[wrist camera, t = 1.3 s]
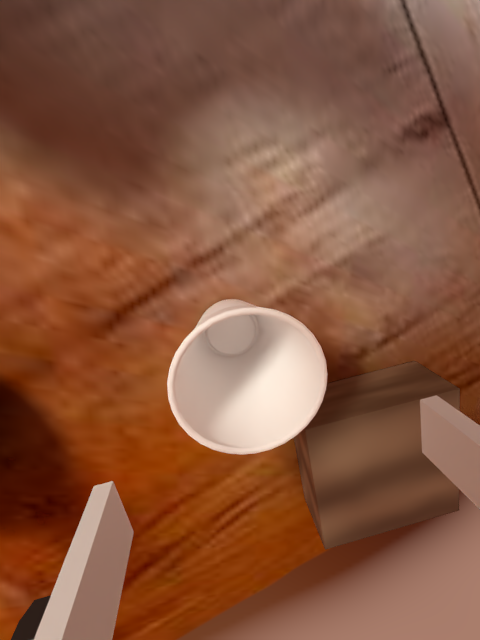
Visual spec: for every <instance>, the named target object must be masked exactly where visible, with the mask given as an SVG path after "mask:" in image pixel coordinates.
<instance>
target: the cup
mask: <svg viewBox="0 0 480 640" xmlns="http://www.w3.org/2000/svg"><path fill="white" fill-rule="evenodd" d="M327 375H328V374H327V365H326V359H325V356H324V353H323V351H322V348H321V346H320V344H319V343H318V341H317V339H316V338H315V336H314V335H313V333H312V332H311V331H310V330H309V329H308V328H307V327H306V326H305V325H304V324H303V323H301V322H300V321H298V320H297V319H295V318H293V317H292V316H290V315H288V314H285V313H283V312H280V311H278V310H274V309H269V308H263V307H257V306H255V305H252V304H250V303H247V302H244V301H242V300H237V299H227V300H223V301H220V302H217V303H215V304H214V305H212V306H211V307H209V308H208V309H207V310H206V311H205V312H204V314H203V316H202V317H201V319H200V320H199V322H198V324H197V325H196V327H195V329H194V330H193V331H192V332H191V333H190V334H189V335H188V336H187V337H186V338H185V339H184V341H183V342H182V344H181V345H180V347H179V348H178V350H177V351H176V353H175V355H174V358H173V360H172V363H171V365H170V368H169V375H168V381H167V387H168V399H169V402H170V406H171V409H172V412H173V414H174V416H175V417H176V419H177V421H178V423H179V424H180V426H181V427H182V428H183V429H184V430H185V431H186V432H187V433H188V435H189V436H191V437H192V438H193V439H195V440H196V441H198V442H199V443H200V444H202V445H204V446H207V447H209V448H211V449H213V450H216V451H220V452H224V453H229V454H241V455H242V454H254V453H259V452H263V451H267V450H271V449H273V448H275V447H278V446H280V445H282V444H284V443H286V442H287V441H289V440H290V439H292V438H294V437H295V436H297V435H298V434H299V433H300V432H301V431H302V430H303V429H304V428H305V427H306V426H307V425H308V424H309V423H310V421H311V420H312V419H313V417H314V416H315V415H316V413H317V411H318V409H319V407H320V405H321V403H322V401H323V398H324V395H325V391H326V386H327Z"/></svg>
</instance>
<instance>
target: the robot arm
mask: <svg viewBox="0 0 480 640" xmlns="http://www.w3.org/2000/svg"><path fill="white" fill-rule="evenodd" d="M420 414H421V438H422V453H423V454H424V455H425V456H426V457H427V458H428V459H429V460H430V461H431V462H432V463H433V464H434V465H435V466H436V467H437V468H438V469H439V470H440V471H441V472H442V473H443V474H444V475H446V476H447V477H448V478H449V479H450V480H451V481H452V482H453V483H454V484H455V485H456V486H457V487H458V488H459V489H460V490H461V491H462V492H463V493H464V494H465V495H466V496H467V497H468V498H469V499H470V500H471V501H472V502H473V503H474V504H475V505H476V506H477V507H478V508H479V509H480V425H478V424H477V423H475V422H474V421H473V420H471V419H470V418H468V417H467V416H465V415H464V414H463V413H461V412H460V411H458V410H457V409H455V408H454V407H453V406H451V405H450V404H448V403H447V402H445V401H444V400H443V399H441V398H440V397H438V396H437V395H436V396H432V397H428V398H424V399H421V400H420ZM133 533H134V532H133V529H132V527H131V524H130V522H129V519H128V517H127V514H126V512H125V509H124V507H123V505H122V502H121V500H120V497H119V495H118V492H117V490H116V487H115V485H114V482H113V481H111V482H108V483H104V484H100V485H96V486H94V487H93V489H92V492H91V495H90V497H89V500H88V502H87V505H86V507H85V510H84V512H83V515H82V518H81V520H80V523H79V525H78V528H77V530H76V533H75V535H74V538H73V541H72V543H71V546H70V548H69V551H68V553H67V556H66V558H65V561H64V564H63V566H62V569H61V571H60V574H59V576H58V579H57V581H56V584H55V587H54V589H53V592H52V594H51V596H47V597H44V598H40V599H37V600H34V602H33V603H32V604H31V606H30V607H29V609H28V610H27V611H26V613H25V614H24V616H23V617H22V618H21V620H20V621H19V623H18V625H17V627H16V630H15V632H14V634H13V636H12V638H11V640H112V637H113V632H114V627H115V622H116V617H117V612H118V607H119V602H120V597H121V592H122V587H123V582H124V577H125V572H126V567H127V563H128V558H129V553H130V548H131V543H132V538H133Z"/></svg>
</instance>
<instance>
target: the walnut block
mask: <svg viewBox="0 0 480 640" xmlns="http://www.w3.org/2000/svg"><path fill="white" fill-rule="evenodd" d="M436 395H437V396H438V397H440V398H441V399H443V400H444V401H445V402H447V403H448V404H450V405H451V406H453V407H454V408H455V409H457V410H458V411H460V389H459V388H458V387H456V386H455V385H453V384H451V383H450V382H448V381H447V380H445V379H443V378H442V377H440V376H438V375H437V374H435V373H434V372H432V371H430V370H429V369H427V368H426V367H424V366H422V365H421V364H419V363H418V362H416V361H412V362H409V363H405V364H401V365H397V366H393V367H389V368H385V369H381V370H377V371H374V372H370V373H366V374H362V375H358V376H354V377H350V378H346V379H342V380H339V381H335V382H331V383H327V386H326V391H325V395H324V398H323V401H322V403H321V405H320V407H319V409H318V411H317V413H316V415H315V416H314V417H313V419H312V420H311V421H310V423H309V424H308V425H307V426H306V427H305V428H304V429H303V430H302V431H301V432H300V433H299V434H298V435H297V436H295V437H294V441H295V447H296V452H297V458H298V463H299V468H300V474H301V479H302V485H303V490H304V496H305V500H306V503H307V505H308V508H309V510H310V513H311V515H312V518H313V520H314V523H315V525H316V528H317V530H318V533H319V535H320V538H321V540H322V543H323V545H324V548H325V549H329V548H332V547H336V546H339V545H342V544H346V543H349V542H353V541H356V540H360V539H363V538H366V537H370V536H373V535H376V534H380V533H383V532H387V531H390V530H393V529H397V528H400V527H404V526H407V525H411V524H414V523H417V522H421V521H424V520H428V519H431V518H434V517H438V516H441V515H444V514H448V513H451V512H455V511H458V510H459V488H458V487H457V486H456V485H455V484H454V483H453V482H452V481H451V480H450V479H449V478H448V477H447V476H446V475H444V474H443V473H442V472H441V471H440V470H439V469H438V468H437V467H436V466H435V465H434V464H433V463H432V462H431V461H430V460H429V459H428V458H427V457H426V456H425V455H424V454H423V453H422V438H421V414H420V400H421V399H424V398H428V397H432V396H436Z"/></svg>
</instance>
